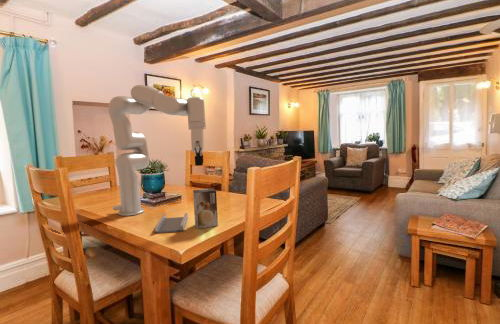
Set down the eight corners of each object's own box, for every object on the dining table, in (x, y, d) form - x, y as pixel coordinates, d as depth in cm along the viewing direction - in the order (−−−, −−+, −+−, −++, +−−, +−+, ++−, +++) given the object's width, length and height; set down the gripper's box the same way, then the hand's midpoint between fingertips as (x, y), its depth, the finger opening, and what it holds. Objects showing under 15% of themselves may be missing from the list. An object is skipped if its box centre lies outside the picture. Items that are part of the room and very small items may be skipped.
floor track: (155, 233, 115) (155, 227, 115) (163, 219, 133) (163, 214, 132) (183, 231, 116) (183, 225, 116) (187, 218, 134) (187, 213, 134)
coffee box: (214, 221, 128) (212, 187, 126) (218, 225, 122) (216, 190, 120) (194, 224, 124) (192, 189, 123) (197, 229, 119) (196, 192, 117)
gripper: (189, 127, 131) (192, 163, 132) (186, 125, 114) (189, 166, 115) (206, 126, 132) (208, 162, 133) (205, 124, 114) (207, 165, 116)
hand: (199, 164), depth 124 cm, fingers open, 9 cm apart
